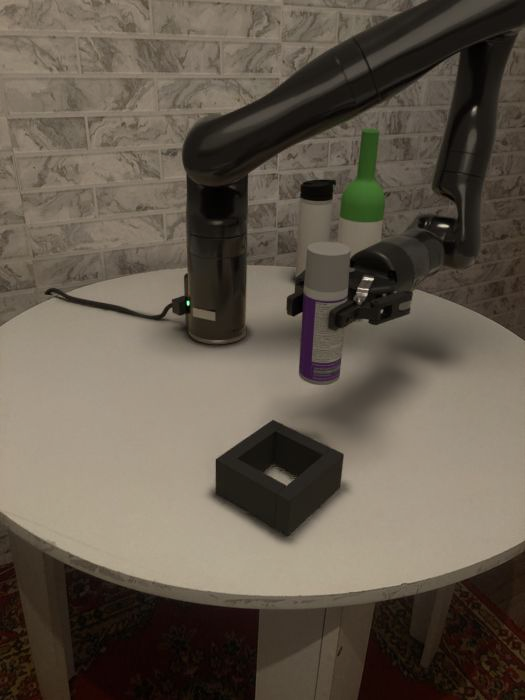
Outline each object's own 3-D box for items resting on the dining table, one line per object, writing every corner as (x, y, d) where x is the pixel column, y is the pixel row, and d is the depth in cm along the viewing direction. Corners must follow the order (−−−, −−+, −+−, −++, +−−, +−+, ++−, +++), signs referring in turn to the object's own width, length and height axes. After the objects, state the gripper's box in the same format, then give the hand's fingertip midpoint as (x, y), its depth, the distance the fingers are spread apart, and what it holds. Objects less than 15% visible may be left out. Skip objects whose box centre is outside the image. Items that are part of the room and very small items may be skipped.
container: (295, 365, 70) (302, 241, 63) (335, 363, 70) (346, 240, 63) (301, 385, 66) (310, 255, 59) (343, 384, 66) (356, 255, 59)
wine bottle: (376, 306, 109) (398, 134, 95) (333, 304, 109) (350, 132, 95) (369, 290, 116) (390, 127, 102) (330, 289, 116) (344, 126, 102)
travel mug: (325, 287, 117) (334, 184, 107) (292, 284, 118) (298, 181, 109) (329, 276, 122) (337, 177, 113) (297, 273, 123) (303, 175, 114)
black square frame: (215, 492, 63) (215, 459, 61) (271, 451, 70) (272, 419, 68) (287, 536, 58) (290, 501, 56) (340, 486, 65) (344, 453, 63)
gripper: (341, 230, 76) (257, 264, 64) (448, 255, 68) (374, 299, 56) (336, 285, 79) (256, 327, 68) (437, 314, 72) (366, 368, 60)
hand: (310, 314), depth 62 cm, fingers closed on container, 4 cm apart
